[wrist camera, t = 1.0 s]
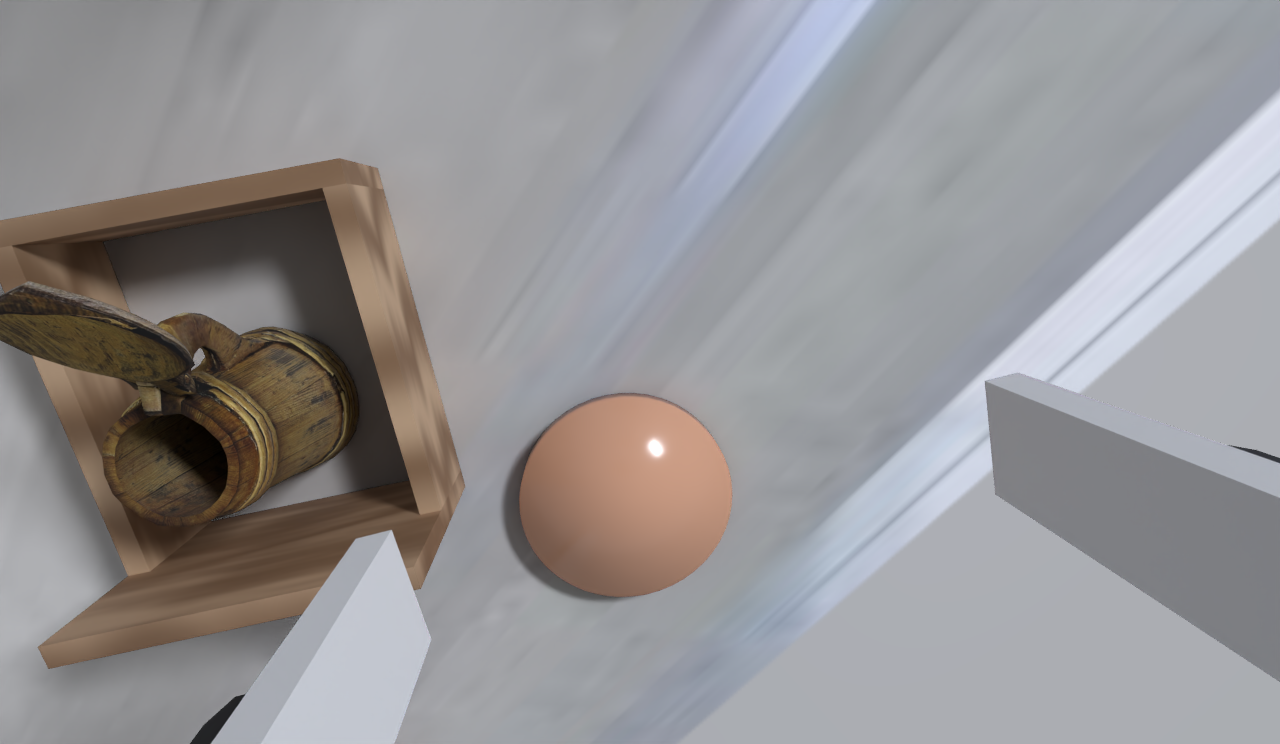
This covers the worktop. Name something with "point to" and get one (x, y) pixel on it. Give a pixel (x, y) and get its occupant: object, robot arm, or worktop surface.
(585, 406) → the peach round disc
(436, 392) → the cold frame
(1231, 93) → the worktop surface
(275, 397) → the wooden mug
